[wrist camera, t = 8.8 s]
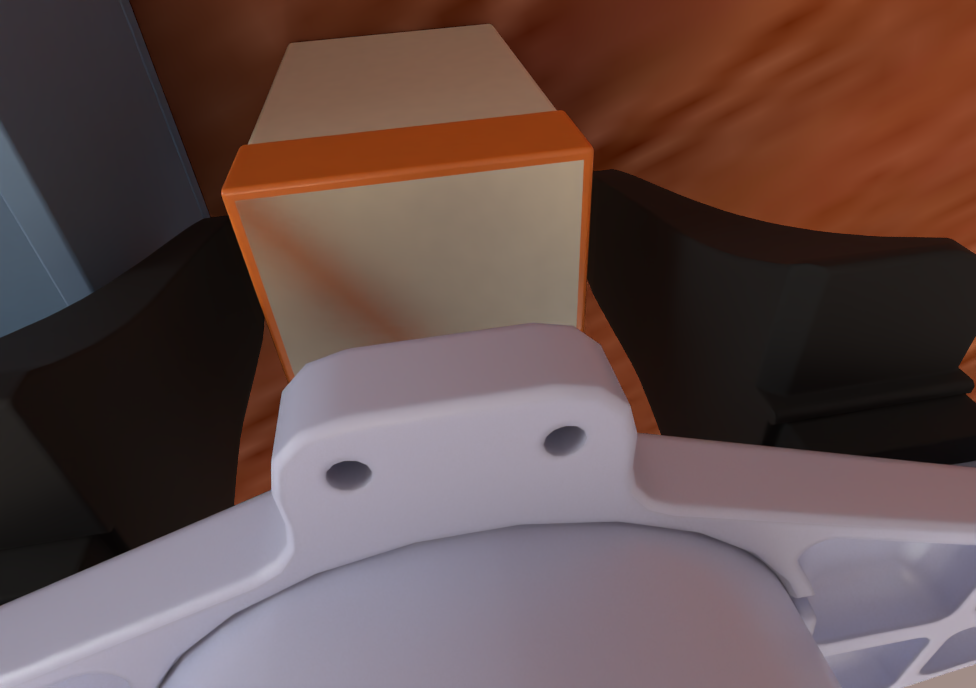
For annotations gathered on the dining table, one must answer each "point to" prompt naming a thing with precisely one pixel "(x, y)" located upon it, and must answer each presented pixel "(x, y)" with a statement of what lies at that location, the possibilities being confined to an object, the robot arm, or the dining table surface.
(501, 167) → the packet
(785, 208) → the dining table surface
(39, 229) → the carton
